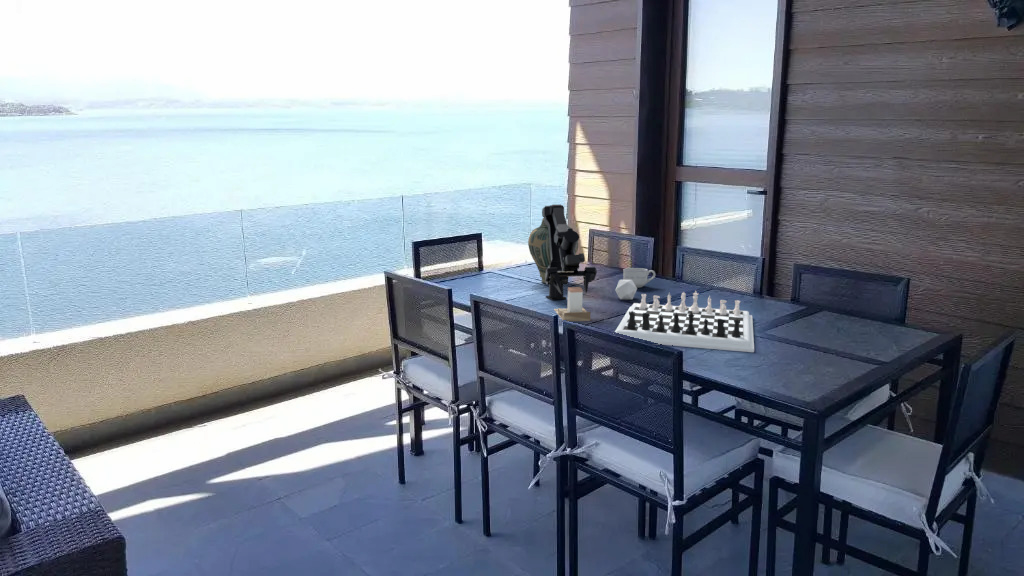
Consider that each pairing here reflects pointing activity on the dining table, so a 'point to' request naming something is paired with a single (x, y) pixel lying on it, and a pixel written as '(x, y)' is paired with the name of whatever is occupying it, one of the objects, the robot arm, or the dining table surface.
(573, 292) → the block
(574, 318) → the tray
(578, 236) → the robot arm
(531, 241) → the vase
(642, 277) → the teacup
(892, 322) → the dining table surface
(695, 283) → the dining table surface
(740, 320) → the chess set
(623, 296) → the die
